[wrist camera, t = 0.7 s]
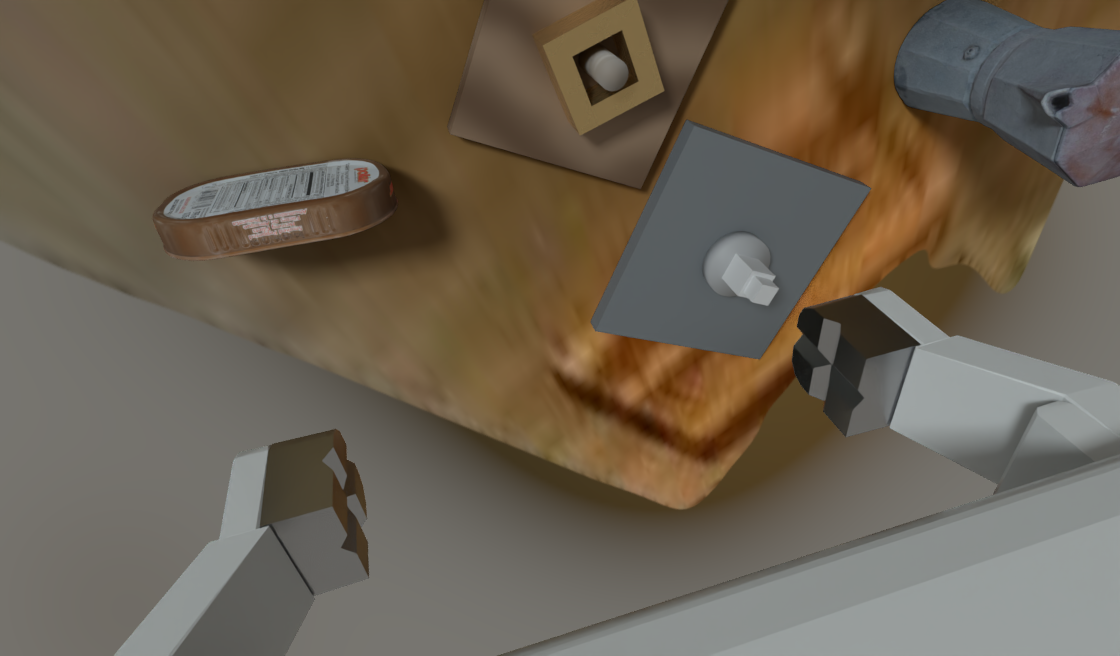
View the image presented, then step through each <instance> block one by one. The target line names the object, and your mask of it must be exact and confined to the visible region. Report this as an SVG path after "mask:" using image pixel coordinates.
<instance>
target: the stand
mask: <svg viewBox="0 0 1120 656" xmlns="http://www.w3.org/2000/svg"><path fill="white" fill-rule="evenodd" d="M594 1H595V0H484V3H483V6H482V10H481V13H480V17H479V20H478V23H477V27H476V30H475V34H474V37H473V41H472V44H471V47H470V51H469V54H468V58H467V61H466V65H465V68H464V72H463V75H462V78H461V82H460V85H459V89H458V92H457V96H456V99H455V102H454V106H453V109H452V113H451V116H450V120H449V123H448V126H447V127H448V130H449V133H450V134H452V135H455V136H458V137H462V138H465V139H469V140H472V141H476V142H479V143H483V144H486V145H490V146H493V147H496V148H500V149H503V150H507V151H510V152H514V153H517V154H521V155H524V156H528V157H531V158H534V159H538V160H541V161H545V162H548V163H552V164H555V165H559V166H562V167H566V168H569V169H573V170H576V171H579V172H583V173H586V174H590V175H593V176H597V177H600V178H604V179H607V180H611V181H614V182H617V183H621V184H624V185H628V186H631V187H635V188H638V189H641V187H642V185H643V183H644V181H645V179H646V177H647V174H648V172H649V170H650V168H651V166H652V164H653V162H654V159H655V157H656V155H657V153H658V151H659V149H660V146H661V144H662V142H663V140H664V138H665V136H666V134H667V131H668V129H669V127H670V125H671V123H672V121H673V118H674V116H675V114H676V112H677V110H678V108H679V106H680V103H681V101H682V99H683V97H684V95H685V93H686V91H687V88H688V86H689V84H690V82H691V80H692V78H693V75H694V73H695V71H696V69H697V67H698V65H699V63H700V60H701V58H702V56H703V54H704V52H705V50H706V47H707V45H708V43H709V41H710V39H711V37H712V35H713V32H714V30H715V28H716V26H717V24H718V22H719V19H720V17H721V15H722V13H723V11H724V9H725V7H726V4H727V2H728V0H637V1H638V5H639V8H640V11H641V15H642V18H643V21H644V25H645V28H646V31H647V35H648V38H649V41H650V45H651V48H652V51H653V55H654V58H655V61H656V64H657V68H658V71H659V74H660V78H661V81H662V84H663V88H664V91H663V92H661V93H660V94H658V95H656V96H654V97H652V98H650V99H648V100H646V101H644V102H643V103H641V104H639V105H637V106H635V107H633V108H631V109H629V110H627V111H626V112H624V113H622V114H620V115H618V116H616V117H614V118H612V119H611V120H609V121H607V122H605V123H603V124H601V125H599V126H597V127H595V128H594V129H592V130H590V131H588V132H586V133H584V134H582V135H579V134H578V133H577V132H576V130H575V129H574V128H573V127H572V126H571V124H570V123H569V122H568V120H567V118H566V115H565V113H564V111H563V108H562V106H561V103H560V101H559V99H558V96H557V94H556V92H555V89H554V87H553V84H552V82H551V80H550V77H549V75H548V73H547V70H546V68H545V65H544V63H543V61H542V58H541V56H540V53H539V51H538V49H537V46H536V44H535V42H534V39H533V37H532V34H534V33H536V32H538V31H540V30H542V29H543V28H545V27H547V26H549V25H551V24H553V23H555V22H556V21H558V20H560V19H562V18H564V17H566V16H568V15H569V14H571V13H573V12H575V11H577V10H579V9H581V8H582V7H584V6H586V5H588V4H590V3H592V2H594ZM572 57H573V59H574V62H575V65H576V67H577V70H578V72H579V75H580V78H581V80H582V83H583V85H584V88H585V90H586V89H588V88H590V87H592V86H594V85H596V84H597V83H599V84H600V85H601V86H602V87H603V88H604V89H606V90H608V91H616V90H619V89H620V88H622V87H623V86H624V85H625V83H626V81H627V79H628V68H627V65H626V64H625V63H624V62H623V61H622V60H620V57H619V54H618V52H617V49H616V46H615V43H614V40H613V37H612V36H610V37H608V38H606V39H604V40H602V41H600V42H599V43H597V44H595V45H593V46H591V47H589V48H587V49H586V50H584V51H582V52H580V53H578V54H576V55H574V56H572Z"/></svg>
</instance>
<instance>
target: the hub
mask: <svg viewBox="0 0 1120 656" xmlns="http://www.w3.org/2000/svg"><path fill="white" fill-rule="evenodd" d="M870 190H871V188H870V187H868V186H867V185H865V184H864V183H862V182H860V181H857V180H855V179H852V178H849V177H846V176H843V175H841V174H838V173H835V172H832V171H829V170H827V169H824V168H821V167H818V166H815V165H813V164H810V163H807V162H804V161H801V160H799V159H796V158H793V157H790V156H787V155H785V154H782V153H779V152H776V151H773V150H771V149H768V148H765V147H762V146H759V145H757V144H754V143H751V142H748V141H745V140H742V139H740V138H737V137H734V136H731V135H728V134H726V133H723V132H720V131H717V130H714V129H712V128H709V127H706V126H703V125H700V124H698V123H695V122H692V121H689V120H686V122H685V124H684V126H683V128H682V130H681V132H680V134H679V136H678V139H677V141H676V143H675V145H674V147H673V149H672V151H671V153H670V155H669V157H668V160H667V162H666V164H665V166H664V168H663V170H662V172H661V174H660V176H659V179H658V181H657V183H656V185H655V187H654V189H653V191H652V193H651V195H650V197H649V200H648V202H647V204H646V206H645V208H644V210H643V212H642V214H641V216H640V219H639V221H638V223H637V225H636V227H635V229H634V231H633V233H632V235H631V237H630V240H629V242H628V244H627V246H626V248H625V250H624V252H623V254H622V256H621V259H620V261H619V263H618V265H617V267H616V269H615V271H614V273H613V275H612V277H611V280H610V282H609V284H608V286H607V288H606V290H605V292H604V294H603V296H602V299H601V301H600V303H599V305H598V307H597V309H596V311H595V313H594V315H593V318H592V320H591V324H592V326H593V328H594V329H595V331H598V332H604V333H610V334H616V335H621V336H627V337H633V338H639V339H645V340H650V341H656V342H662V343H668V344H674V345H679V346H685V347H691V348H697V349H703V350H708V351H714V352H720V353H726V354H732V355H737V356H743V357H749V358H755V359H760V358H761V357H762V355H763V353H764V352H765V350H766V349H767V347H768V346H769V344H770V343H771V341H772V340H773V338H774V337H775V335H776V334H777V332H778V330H779V329H780V327H781V326H782V324H783V323H784V321H785V320H786V318H787V317H788V315H789V314H790V312H791V311H792V309H793V308H794V306H795V304H796V303H797V301H798V300H799V298H800V297H801V295H802V294H803V292H804V291H805V289H806V288H807V286H808V285H809V283H810V281H811V280H812V278H813V277H814V275H815V274H816V272H817V271H818V269H819V268H820V266H821V265H822V263H823V262H824V260H825V258H826V257H827V255H828V254H829V252H830V251H831V249H832V248H833V246H834V245H835V243H836V242H837V240H838V239H839V237H840V236H841V234H842V232H843V231H844V229H845V228H846V226H847V225H848V223H849V222H850V220H851V219H852V217H853V216H854V214H855V213H856V211H857V209H858V208H859V206H860V205H861V203H862V202H863V200H864V199H865V197H866V196H867V194H868V193H869V191H870Z"/></svg>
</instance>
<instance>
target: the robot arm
mask: <svg viewBox="0 0 1120 656" xmlns="http://www.w3.org/2000/svg"><path fill="white" fill-rule="evenodd" d="M797 327H798V329H799V330H800V331H801V332H802V333H803V335H802V336H801V337H800V339H799V340H798V341H797V342H796V344H795V345H794V348H793V356H792V363H793V367H794V372H795V375H796V377H797V379H798V381H799V383H800V385H801V386H802V387H803V388H804V390H805V391H806V392H807V393H808V394H809V395H811V396H813V397H816V398H818V399H821V400H823V401H824V405H823V412H824V413H825V414H826V415H827V416H828V417H829V419H830V420H831V421H832V422H833V423H834V424H835V425H836V427H837V428H838V429H839V430H840V431H841V432H842V433H843V435H844V436H845V437H849V436H853V435H856V434H860V433H864V432H867V431H871V430H875V429H879V428H883V427H886V426H890V428H891V429H893V430H894V431H896V432H898V433H900V434H902V435H904V436H906V437H908V438H910V439H911V440H914V441H915V442H917V443H919V444H921V445H923V446H925V447H927V448H929V449H931V450H933V451H935V452H936V453H938V454H940V455H942V456H944V457H946V458H948V459H950V460H952V461H954V462H956V463H958V464H960V465H961V466H963V467H965V468H967V469H969V470H971V471H973V472H975V473H977V474H979V475H981V476H983V477H984V478H986V479H988V480H990V481H992V482H994V483H996V484H998V485H997V487H996V489H995V491H994V493H993V495H991V496H989V497H985V498H982V499H979V500H976V501H973V502H970V503H967V504H964V505H960V506H958V507H954V508H951V509H948V510H945V511H942V512H939V513H936V514H933V515H930V516H927V517H923V518H920V519H917V520H915V521H911V522H908V523H905V524H902V525H899V526H896V527H893V528H890V529H886V530H883V531H881V532H877V533H874V534H872V535H868V536H865V537H862V538H859V539H856V540H853V541H850V542H846V543H843V544H840V545H837V546H834V547H831V548H828V549H825V550H822V551H819V552H816V553H813V554H810V555H806V556H803V557H800V558H797V559H794V560H791V561H788V562H785V563H782V564H779V565H776V566H773V567H770V568H767V569H763V570H760V571H757V572H754V573H751V574H748V575H745V576H742V577H739V578H736V579H733V580H729V581H727V582H723V583H720V584H717V585H714V586H711V587H708V588H705V589H702V590H699V591H696V592H692V593H690V594H686V595H683V596H680V597H677V598H674V599H671V600H668V601H665V602H662V603H659V604H655V605H652V606H649V607H646V608H643V609H640V610H637V611H634V612H631V613H628V614H625V615H622V616H618V617H616V618H612V619H609V620H606V621H603V622H600V623H597V624H594V625H591V626H588V627H584V628H581V629H578V630H575V631H572V632H569V633H566V634H563V635H560V636H557V637H554V638H550V639H548V640H544V641H541V642H538V643H535V644H532V645H529V646H526V647H523V648H520V649H516V650H514V651H510V652H507V653H504V654H501V655H498V656H1120V386H1119V385H1118V384H1116V383H1115V382H1112V381H1109V380H1105V379H1102V378H1098V377H1095V376H1092V375H1088V374H1085V373H1082V372H1078V371H1075V370H1071V369H1068V368H1065V367H1061V366H1058V365H1055V364H1052V363H1048V362H1045V361H1041V360H1038V359H1035V358H1032V357H1028V356H1025V355H1022V354H1018V353H1014V352H1012V351H1008V350H1005V349H1001V348H998V347H995V346H991V345H988V344H985V343H981V342H978V341H975V340H971V339H968V338H965V337H961V336H953V337H949V336H947V335H946V334H945V333H944V332H942V331H941V330H940V329H938V328H937V327H936V326H935V325H934V324H932V323H931V322H930V321H928V320H927V319H926V318H925V317H923V316H922V315H921V314H920V313H918V312H917V311H916V310H914V309H913V308H912V307H911V306H909V305H908V304H907V303H906V302H904V301H903V300H902V299H901V298H899V297H898V296H897V295H895V294H894V293H893V292H892V291H890V290H889V289H886V288H882V287H879V288H875V289H872V290H868V291H864V292H861V293H857V294H855V295H852V296H847V297H844V298H840V299H836V300H832V301H829V302H825V303H821V304H817V305H814V306H810V307H806V308H804V309H803V310H802V312H801V313H800V315H799V318H798V324H797ZM346 455H347V454H346V443H345V441H344V439H343V437H342V435H341V433H340V431H338V430H336V429H334V430H330V431H325V432H321V433H317V434H313V435H308V436H304V437H300V438H295V439H291V440H287V441H283V442H278V443H274V444H272V445H269V446H265V447H260V448H256V449H251V450H247V451H243V452H239V453H238V455H237V456H236V457H235V459H234V461H233V465H232V471H231V476H230V482H229V488H228V493H227V499H226V504H225V510H224V516H223V521H222V527H221V532H220V538H219V540H216V541H212V542H209V543H208V544H207V545H206V547H205V548H204V549H203V550H202V551H201V553H200V554H199V555H198V556H197V557H196V559H195V560H194V561H193V562H192V563H191V565H190V566H189V567H188V568H187V569H186V570H185V572H184V573H183V574H182V575H181V577H179V579H178V580H177V581H176V582H175V584H174V585H173V586H172V587H171V588H170V589H169V591H168V592H167V593H166V594H165V595H164V596H163V598H162V599H161V600H160V601H159V602H158V604H157V605H156V606H155V608H153V610H152V611H151V612H150V613H149V614H148V615H147V617H146V618H145V619H144V620H143V622H142V623H141V624H140V625H139V626H138V627H137V629H136V630H135V631H134V632H133V634H131V636H130V637H129V638H128V639H127V640H126V642H125V643H124V644H123V645H122V646H121V648H120V649H119V650H118V651H117V652H116V654H115V655H114V656H285V654H286V653H287V651H288V649H289V647H290V645H291V643H292V641H293V640H294V638H295V636H296V634H297V632H298V630H299V628H300V626H301V625H302V623H303V621H304V619H305V617H306V615H307V613H308V611H309V609H310V607H311V606H312V604H313V602H314V600H315V598H314V597H313V596H316V595H319V594H322V593H325V592H328V591H331V590H334V589H337V588H340V587H343V586H347V585H350V584H353V583H356V582H359V581H362V580H365V579H368V578H369V561H368V541H367V539H366V537H365V535H364V533H363V531H362V529H361V527H362V526H363V524H364V522H365V521H366V519H367V512H366V501H365V495H364V490H363V485H362V482H361V479H360V475H359V473H358V470H357V468H356V466H355V464H354V463H353V462H351V461H349V460H347V456H346Z"/></svg>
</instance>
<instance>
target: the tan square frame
mask: <svg viewBox="0 0 1120 656" xmlns="http://www.w3.org/2000/svg"><path fill="white" fill-rule="evenodd" d="M610 36H612V37H613V40H614V43H615V46H616V49H617V52H618V54H619V57H620V60H622V61H623V62H624V63H625V64H626V65H627V68H628V79H627V81H626V83H625V85H624V86H623V87H622V88H620V89H619V90H616V91H608V90H606V89H604V88H603V87H602V86H601V85H600V84H599V83H597V84H596V85H594V86H592V87H590V88H588V89H586V90H585V88H584V85H583V83H582V80H581V78H580V75H579V72H578V70H577V67H576V65H575V62H574V59H573V57H572V56H574V55H576V54H578V53H580V52H582V51H584V50H586V49H587V48H589V47H591V46H593V45H595V44H597V43H599V42H600V41H602V40H604V39H606V38H608V37H610ZM532 37H533V39H534V42H535V44H536V46H537V49H538V51H539V53H540V56H541V58H542V61H543V63H544V65H545V68H546V70H547V73H548V75H549V77H550V80H551V82H552V84H553V87H554V89H555V92H556V94H557V96H558V99H559V101H560V103H561V106H562V108H563V111H564V113H565V115H566V118H567V120H568V122H569V123H570V124H571V126H572V127H573V128H574V129H575V130H576V132H577V133H578V134H579V135H582V134H584V133H586V132H588V131H590V130H592V129H594V128H595V127H597V126H599V125H601V124H603V123H605V122H607V121H609V120H611V119H612V118H614V117H616V116H618V115H620V114H622V113H624V112H626V111H627V110H629V109H631V108H633V107H635V106H637V105H639V104H641V103H643V102H644V101H646V100H648V99H650V98H652V97H654V96H656V95H658V94H660V93H661V92H663V91H664V88H663V84H662V81H661V78H660V74H659V71H658V68H657V64H656V61H655V58H654V55H653V51H652V48H651V45H650V41H649V38H648V35H647V31H646V28H645V25H644V21H643V18H642V15H641V11H640V8H639V5H638V1H637V0H595V1H594V2H592V3H590V4H588V5H586V6H584V7H582V8H581V9H579V10H577V11H575V12H573V13H571V14H569V15H568V16H566V17H564V18H562V19H560V20H558V21H556V22H555V23H553V24H551V25H549V26H547V27H545V28H543V29H542V30H540V31H538V32H536V33H534V34H532Z"/></svg>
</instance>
